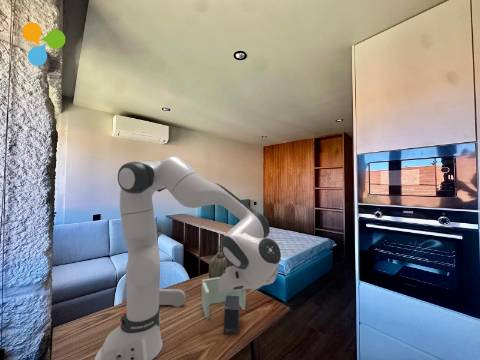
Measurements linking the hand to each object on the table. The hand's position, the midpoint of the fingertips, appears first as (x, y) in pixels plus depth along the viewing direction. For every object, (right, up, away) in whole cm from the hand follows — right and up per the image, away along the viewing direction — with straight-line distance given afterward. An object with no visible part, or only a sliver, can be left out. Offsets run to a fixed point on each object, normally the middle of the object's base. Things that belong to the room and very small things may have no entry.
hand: (242, 288), depth 75 cm
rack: (-9, -25, +29) cm, 39 cm away
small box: (-4, -25, +16) cm, 30 cm away
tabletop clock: (-13, -25, +51) cm, 58 cm away
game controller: (-39, -25, +29) cm, 54 cm away
